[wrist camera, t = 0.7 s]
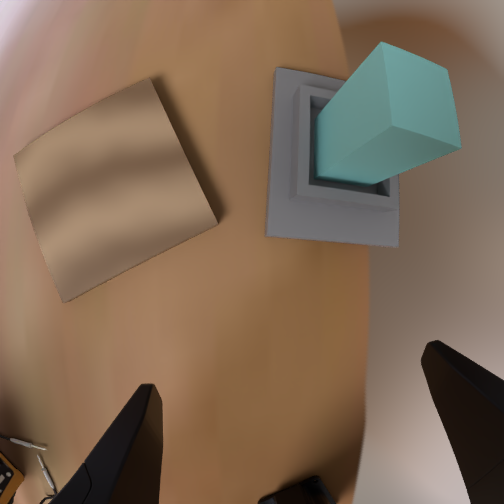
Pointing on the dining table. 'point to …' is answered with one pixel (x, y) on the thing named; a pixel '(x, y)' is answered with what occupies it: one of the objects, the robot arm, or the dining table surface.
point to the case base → (312, 190)
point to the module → (386, 119)
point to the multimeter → (16, 476)
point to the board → (110, 190)
